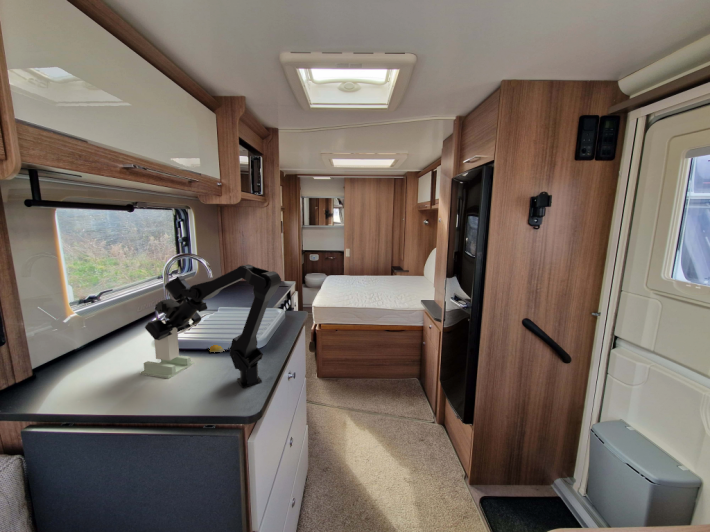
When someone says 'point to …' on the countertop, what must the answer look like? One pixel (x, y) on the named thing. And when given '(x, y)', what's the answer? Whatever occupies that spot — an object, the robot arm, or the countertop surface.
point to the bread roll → (216, 348)
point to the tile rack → (167, 367)
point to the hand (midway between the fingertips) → (163, 336)
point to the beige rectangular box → (167, 346)
